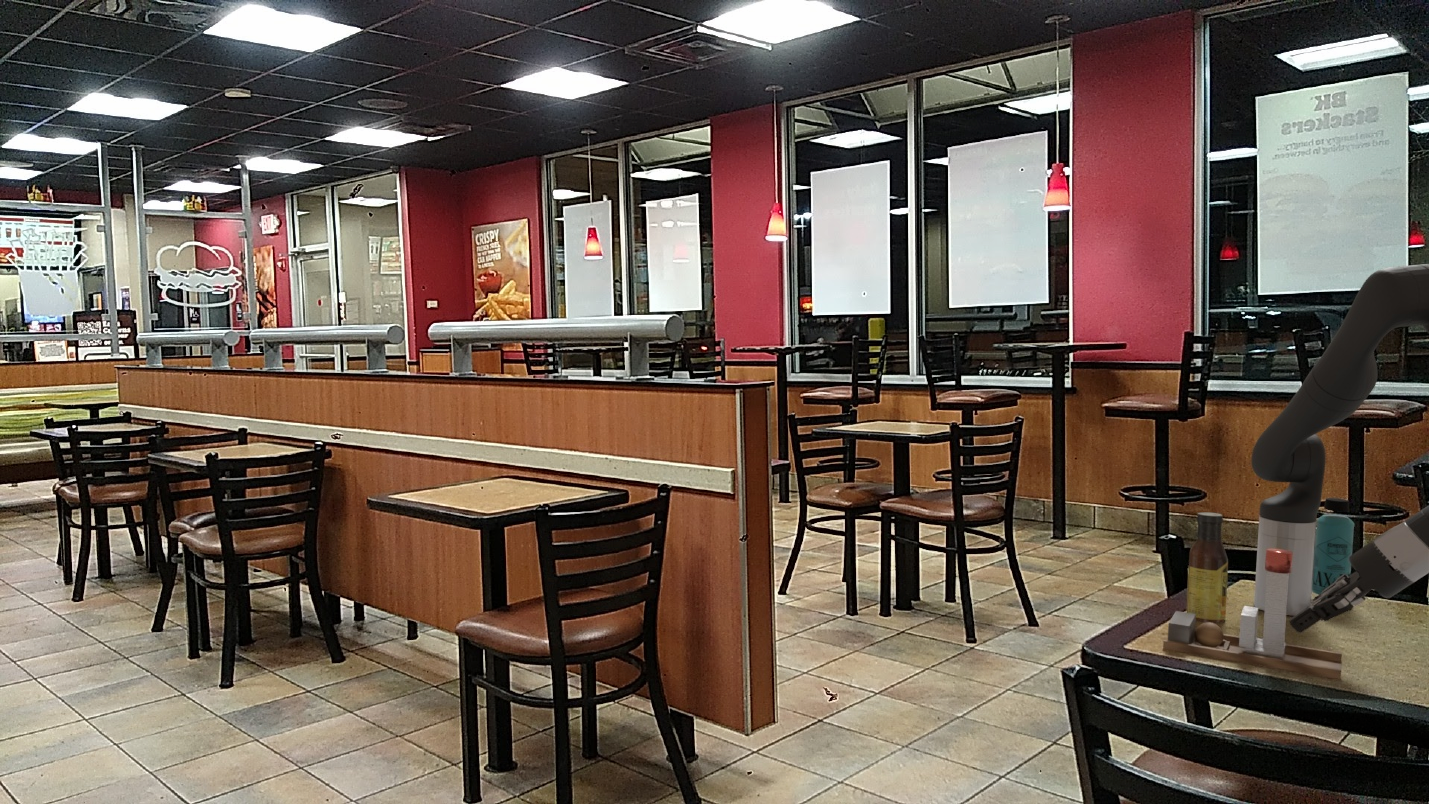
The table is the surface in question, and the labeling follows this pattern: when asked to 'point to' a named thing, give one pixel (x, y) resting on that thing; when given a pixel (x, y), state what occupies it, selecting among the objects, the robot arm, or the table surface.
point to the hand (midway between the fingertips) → (1293, 626)
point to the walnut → (1209, 634)
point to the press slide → (1269, 609)
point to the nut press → (1294, 658)
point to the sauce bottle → (1208, 571)
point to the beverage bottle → (1332, 545)
